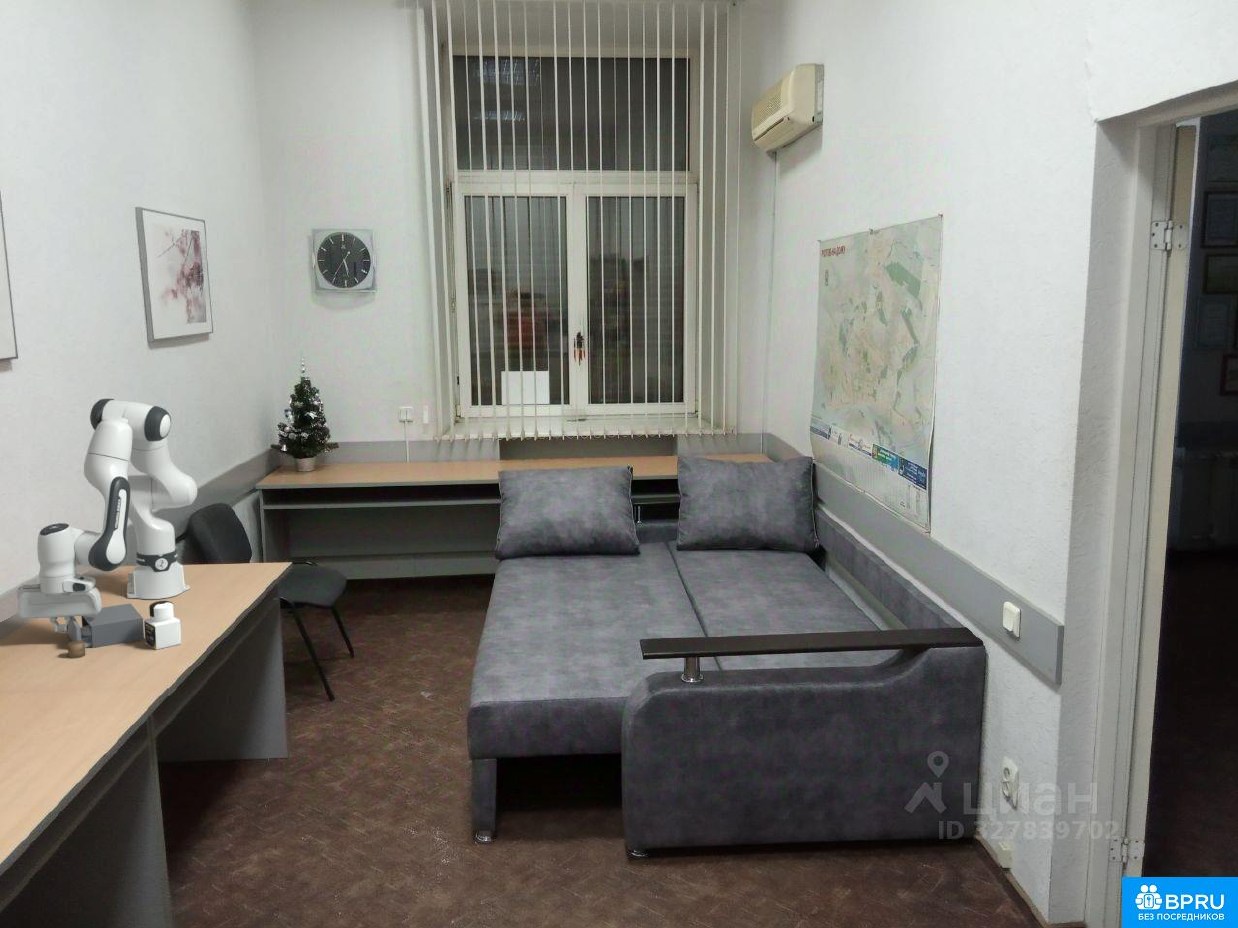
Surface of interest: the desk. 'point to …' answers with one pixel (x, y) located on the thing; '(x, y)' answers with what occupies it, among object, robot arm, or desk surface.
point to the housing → (115, 625)
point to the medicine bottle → (162, 626)
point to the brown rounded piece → (76, 649)
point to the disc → (86, 632)
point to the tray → (77, 632)
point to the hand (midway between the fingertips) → (61, 631)
